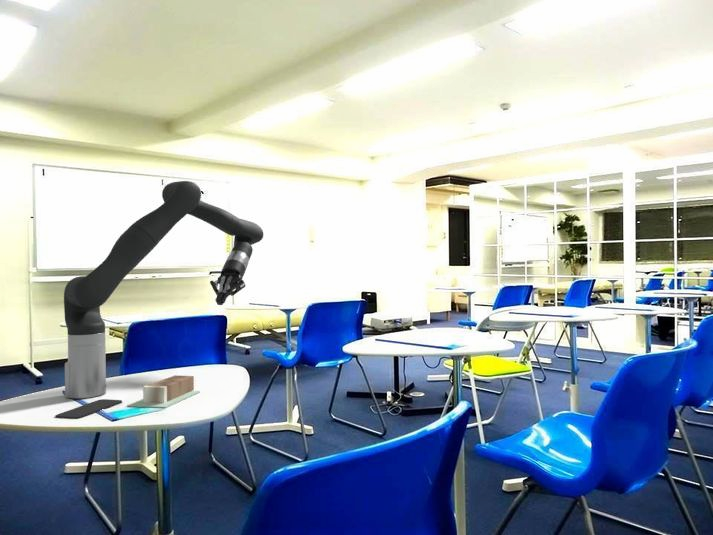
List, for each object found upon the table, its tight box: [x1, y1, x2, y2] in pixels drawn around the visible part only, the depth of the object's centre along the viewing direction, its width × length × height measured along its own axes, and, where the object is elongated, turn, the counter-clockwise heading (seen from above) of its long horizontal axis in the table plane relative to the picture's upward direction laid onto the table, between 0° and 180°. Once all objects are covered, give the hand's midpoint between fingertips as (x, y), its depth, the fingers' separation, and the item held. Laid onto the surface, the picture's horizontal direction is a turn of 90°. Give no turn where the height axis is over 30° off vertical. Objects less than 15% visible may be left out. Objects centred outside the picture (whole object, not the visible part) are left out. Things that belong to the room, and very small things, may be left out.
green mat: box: [126, 390, 201, 409], centre depth 129 cm, size 11×16×1 cm
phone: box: [54, 398, 123, 420], centre depth 120 cm, size 7×1×15 cm
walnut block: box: [142, 374, 195, 403], centre depth 131 cm, size 6×4×14 cm
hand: (219, 303), depth 158 cm, fingers closed
